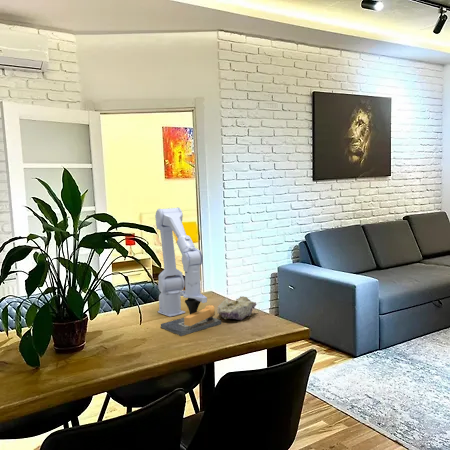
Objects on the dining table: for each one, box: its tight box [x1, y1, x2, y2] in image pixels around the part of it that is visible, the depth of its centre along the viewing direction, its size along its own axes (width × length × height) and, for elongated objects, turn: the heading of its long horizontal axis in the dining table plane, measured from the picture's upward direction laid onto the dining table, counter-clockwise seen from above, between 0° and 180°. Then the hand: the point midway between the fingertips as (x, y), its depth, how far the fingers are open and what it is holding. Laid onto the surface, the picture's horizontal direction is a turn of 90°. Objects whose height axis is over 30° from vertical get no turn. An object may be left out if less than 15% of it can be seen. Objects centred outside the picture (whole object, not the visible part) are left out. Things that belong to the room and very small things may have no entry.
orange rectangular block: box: [183, 304, 215, 326], centre depth 175 cm, size 16×4×4 cm, turn 147°
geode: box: [216, 295, 258, 322], centre depth 185 cm, size 17×9×15 cm
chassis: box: [160, 316, 222, 337], centre depth 176 cm, size 13×19×2 cm
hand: (193, 317), depth 175 cm, fingers closed, pressing on orange rectangular block
